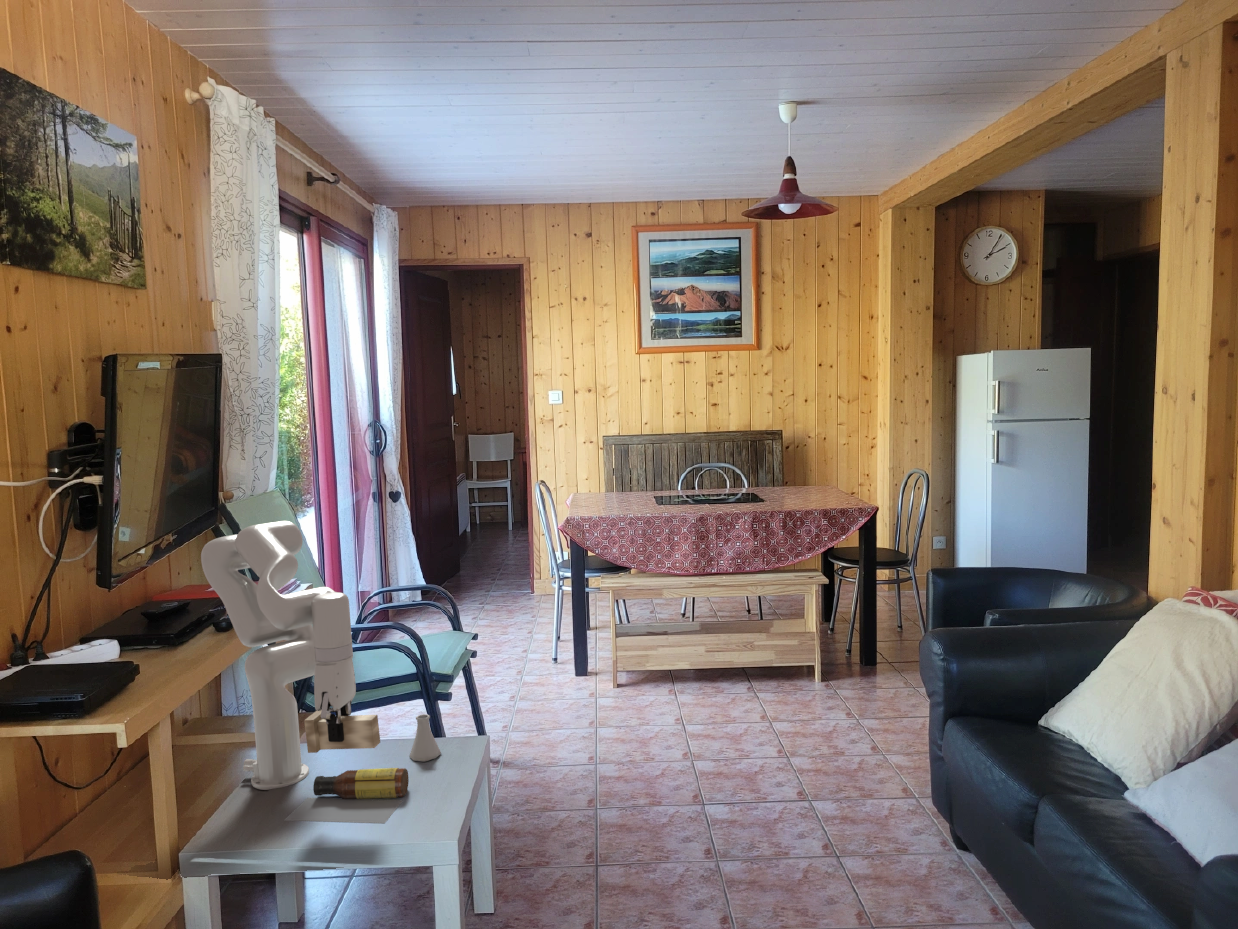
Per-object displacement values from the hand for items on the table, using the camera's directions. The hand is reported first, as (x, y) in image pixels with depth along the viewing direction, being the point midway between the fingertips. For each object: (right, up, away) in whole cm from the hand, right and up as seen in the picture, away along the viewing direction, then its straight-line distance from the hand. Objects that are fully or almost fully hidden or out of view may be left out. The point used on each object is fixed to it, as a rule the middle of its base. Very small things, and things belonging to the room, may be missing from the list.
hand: (340, 737), depth 183 cm
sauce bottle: (+12, -13, +8) cm, 19 cm away
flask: (+11, -14, +29) cm, 34 cm away
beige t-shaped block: (+1, -2, 0) cm, 2 cm away
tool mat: (0, -16, +2) cm, 17 cm away
